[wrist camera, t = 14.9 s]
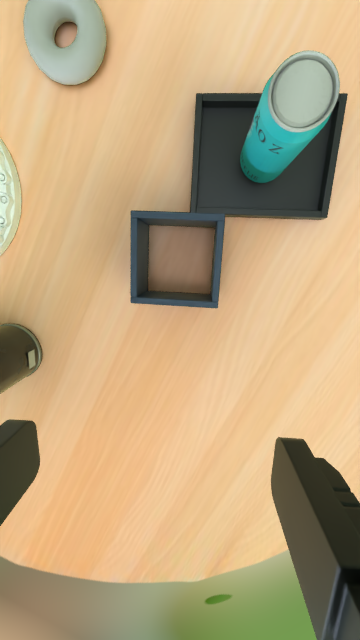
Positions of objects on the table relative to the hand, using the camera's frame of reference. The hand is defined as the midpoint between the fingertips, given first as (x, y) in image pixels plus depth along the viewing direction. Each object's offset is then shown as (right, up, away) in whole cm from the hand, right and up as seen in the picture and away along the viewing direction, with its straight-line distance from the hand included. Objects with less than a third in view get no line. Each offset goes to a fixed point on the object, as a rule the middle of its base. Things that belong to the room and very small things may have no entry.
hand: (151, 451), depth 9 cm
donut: (-13, +39, +25) cm, 48 cm away
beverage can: (+11, +25, +26) cm, 38 cm away
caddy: (+1, +13, +30) cm, 32 cm away
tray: (+11, +25, +26) cm, 38 cm away
